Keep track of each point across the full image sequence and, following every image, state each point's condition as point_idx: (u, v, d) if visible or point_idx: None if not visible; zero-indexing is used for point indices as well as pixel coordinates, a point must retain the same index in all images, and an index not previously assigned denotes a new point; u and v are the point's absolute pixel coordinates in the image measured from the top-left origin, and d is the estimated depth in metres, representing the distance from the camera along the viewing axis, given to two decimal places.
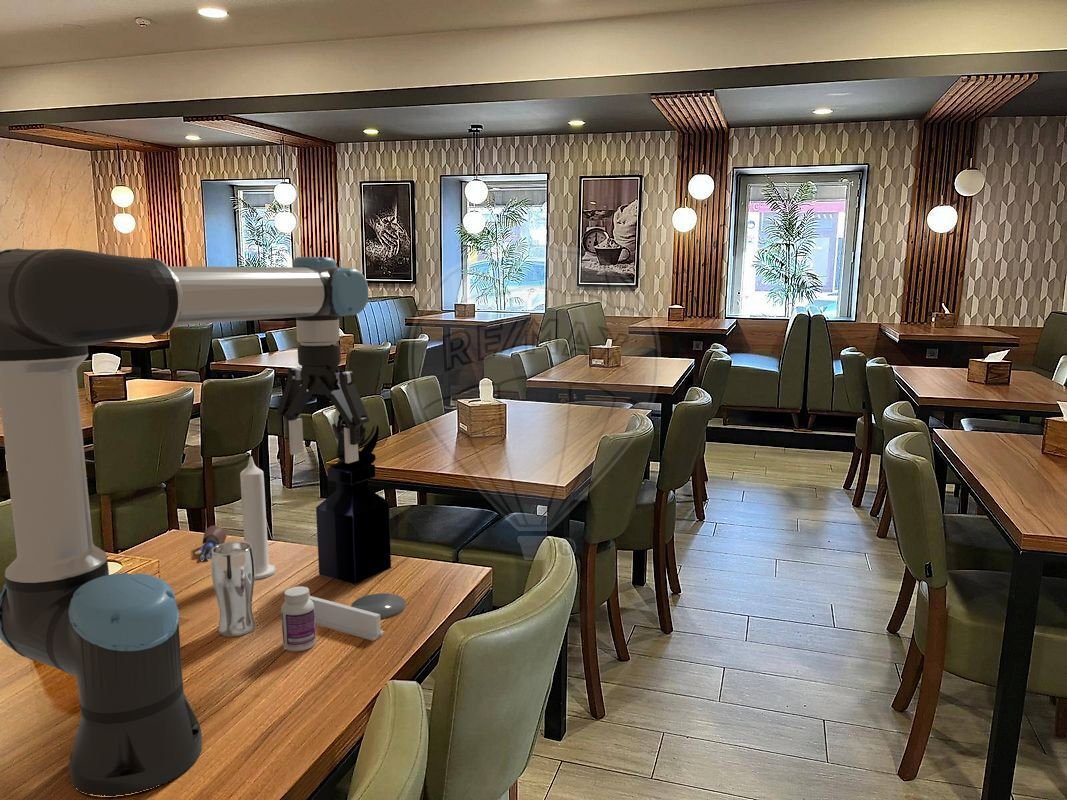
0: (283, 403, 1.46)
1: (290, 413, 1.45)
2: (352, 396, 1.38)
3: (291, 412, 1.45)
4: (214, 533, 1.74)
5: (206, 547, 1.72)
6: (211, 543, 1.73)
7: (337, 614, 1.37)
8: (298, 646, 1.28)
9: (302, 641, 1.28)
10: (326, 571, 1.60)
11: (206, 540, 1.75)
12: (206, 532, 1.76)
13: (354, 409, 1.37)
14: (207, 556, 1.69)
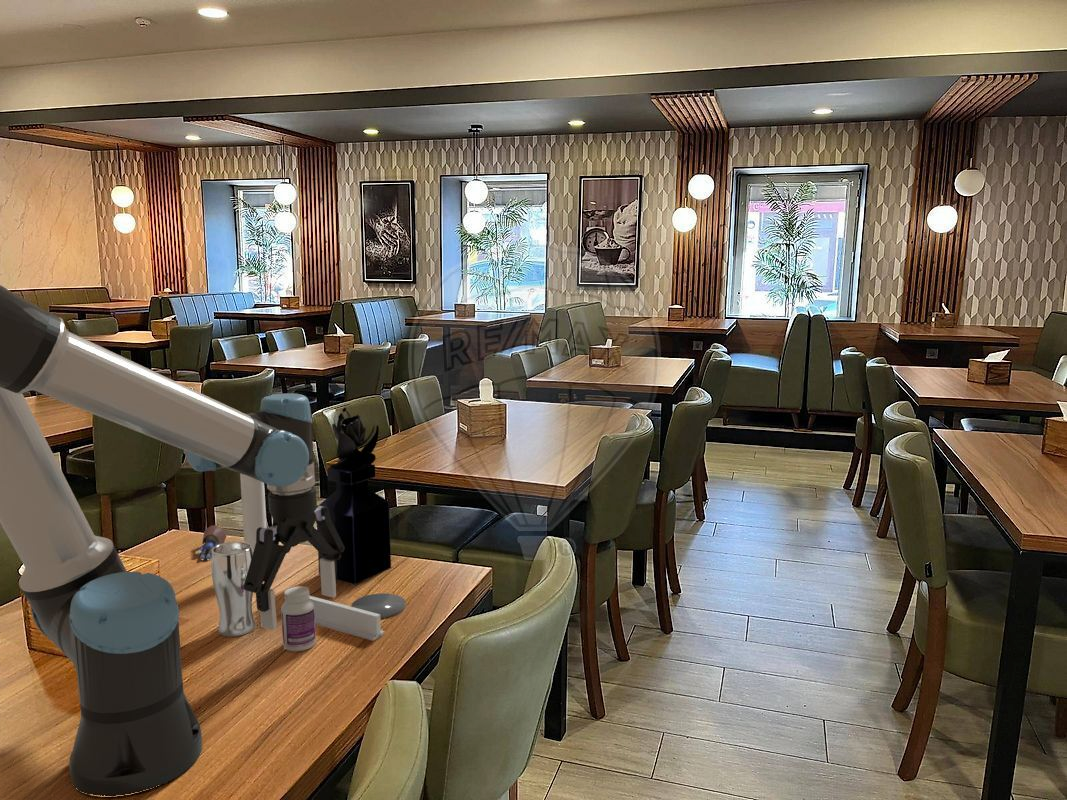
0: None
1: None
2: (255, 558, 1.21)
3: None
4: (214, 533, 1.74)
5: (206, 547, 1.72)
6: (211, 543, 1.73)
7: (337, 614, 1.37)
8: (298, 646, 1.28)
9: (302, 641, 1.28)
10: None
11: (206, 540, 1.76)
12: (206, 532, 1.76)
13: None
14: (207, 556, 1.69)
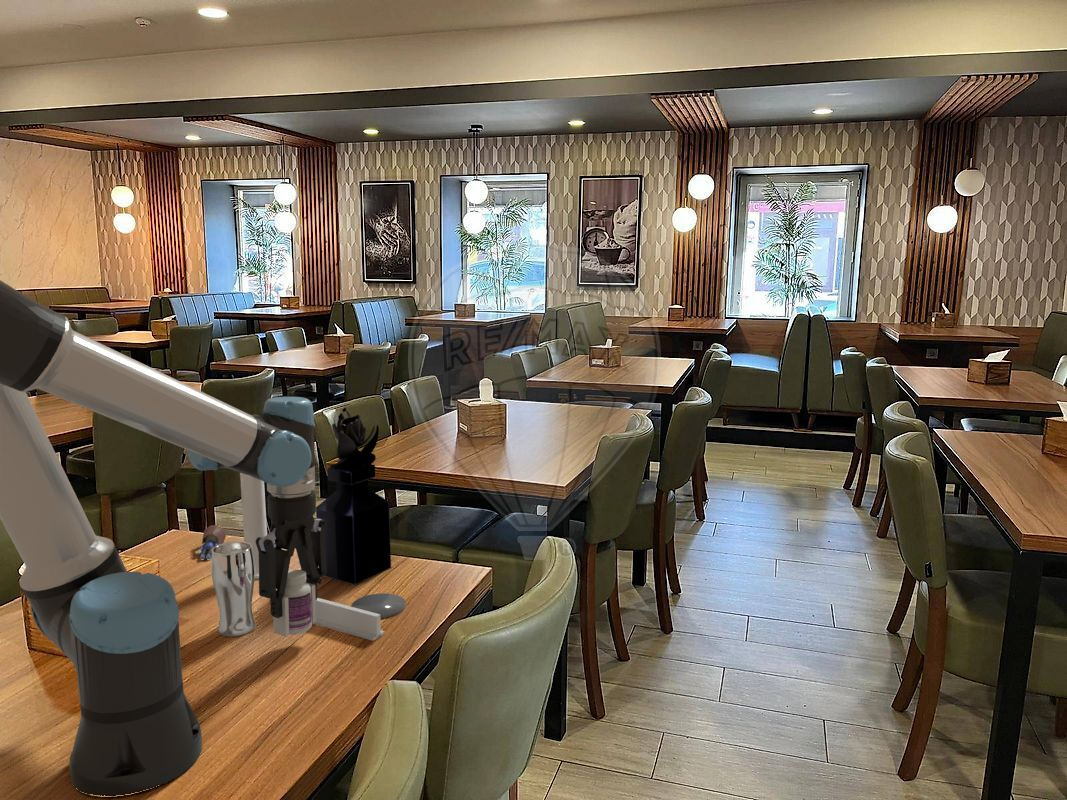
0: None
1: None
2: (261, 567, 1.23)
3: None
4: (214, 533, 1.75)
5: (206, 547, 1.72)
6: (211, 543, 1.73)
7: (337, 614, 1.37)
8: (294, 629, 1.27)
9: (297, 624, 1.27)
10: None
11: (206, 540, 1.76)
12: (206, 532, 1.76)
13: None
14: (207, 556, 1.69)
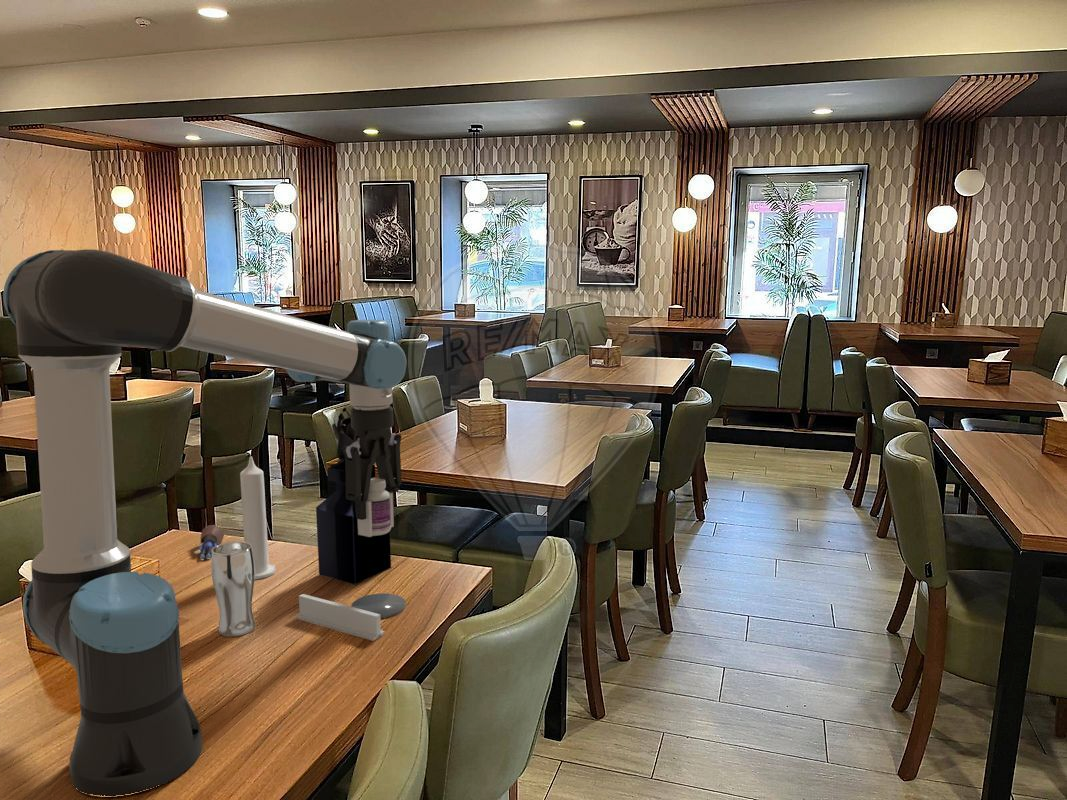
0: None
1: None
2: (348, 472, 1.36)
3: None
4: (212, 532, 1.75)
5: (205, 546, 1.72)
6: (210, 542, 1.73)
7: (337, 614, 1.37)
8: (377, 530, 1.40)
9: (379, 526, 1.41)
10: (326, 571, 1.60)
11: (204, 540, 1.76)
12: (204, 532, 1.76)
13: None
14: (207, 555, 1.69)
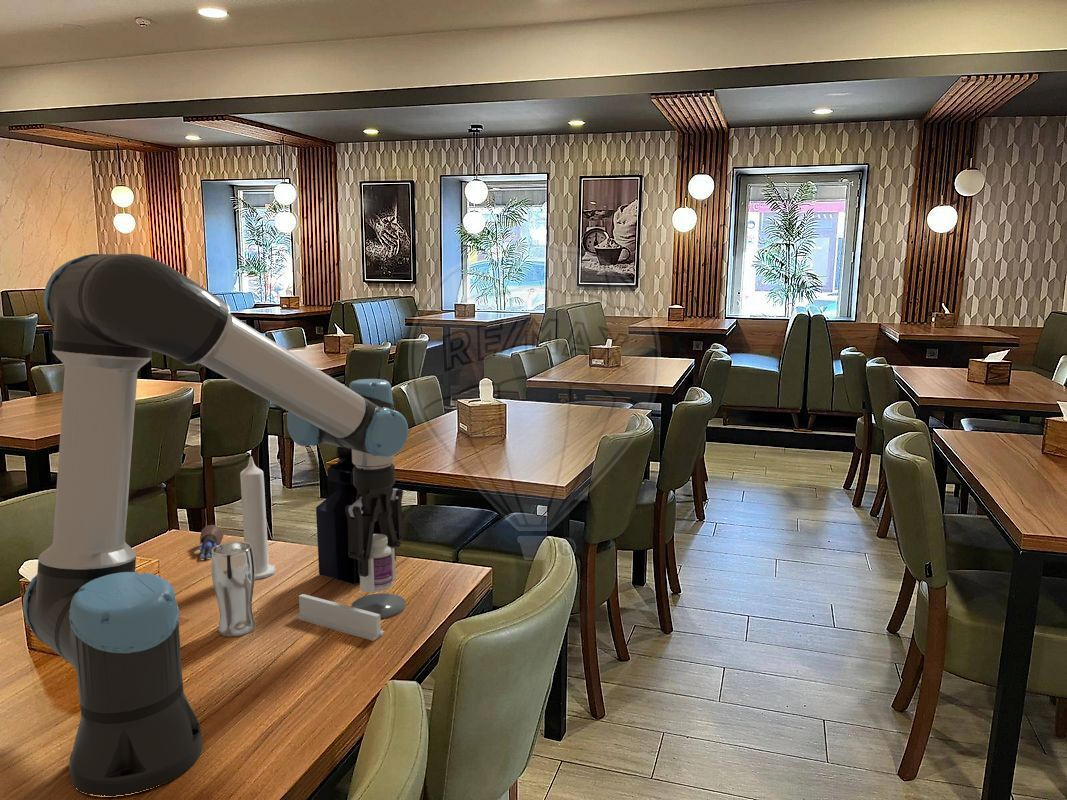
0: None
1: None
2: (350, 531, 1.38)
3: None
4: (212, 532, 1.75)
5: (205, 546, 1.72)
6: (210, 542, 1.73)
7: (337, 614, 1.37)
8: (379, 586, 1.42)
9: (382, 582, 1.42)
10: (326, 571, 1.60)
11: (203, 540, 1.76)
12: (203, 532, 1.76)
13: None
14: (207, 555, 1.69)
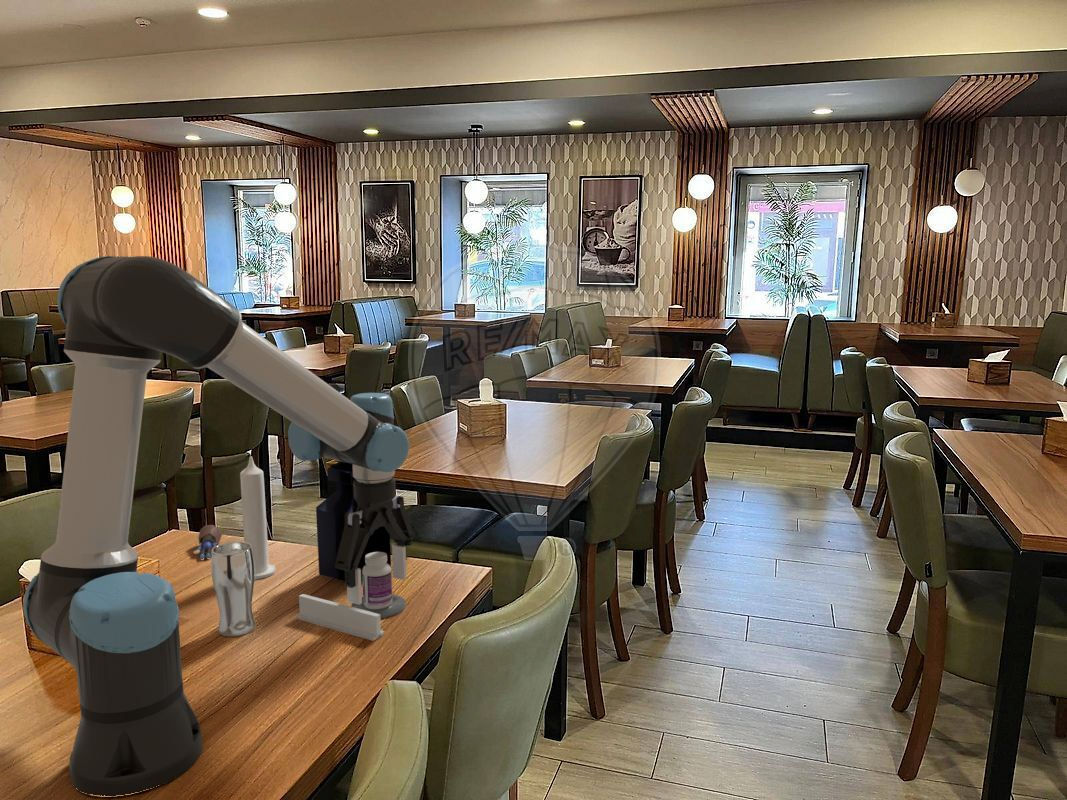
0: None
1: None
2: (344, 539, 1.36)
3: None
4: (211, 532, 1.75)
5: (204, 546, 1.72)
6: (209, 542, 1.74)
7: (337, 614, 1.37)
8: (378, 605, 1.43)
9: (381, 600, 1.43)
10: (326, 571, 1.60)
11: (202, 540, 1.76)
12: (202, 532, 1.76)
13: None
14: (207, 555, 1.69)
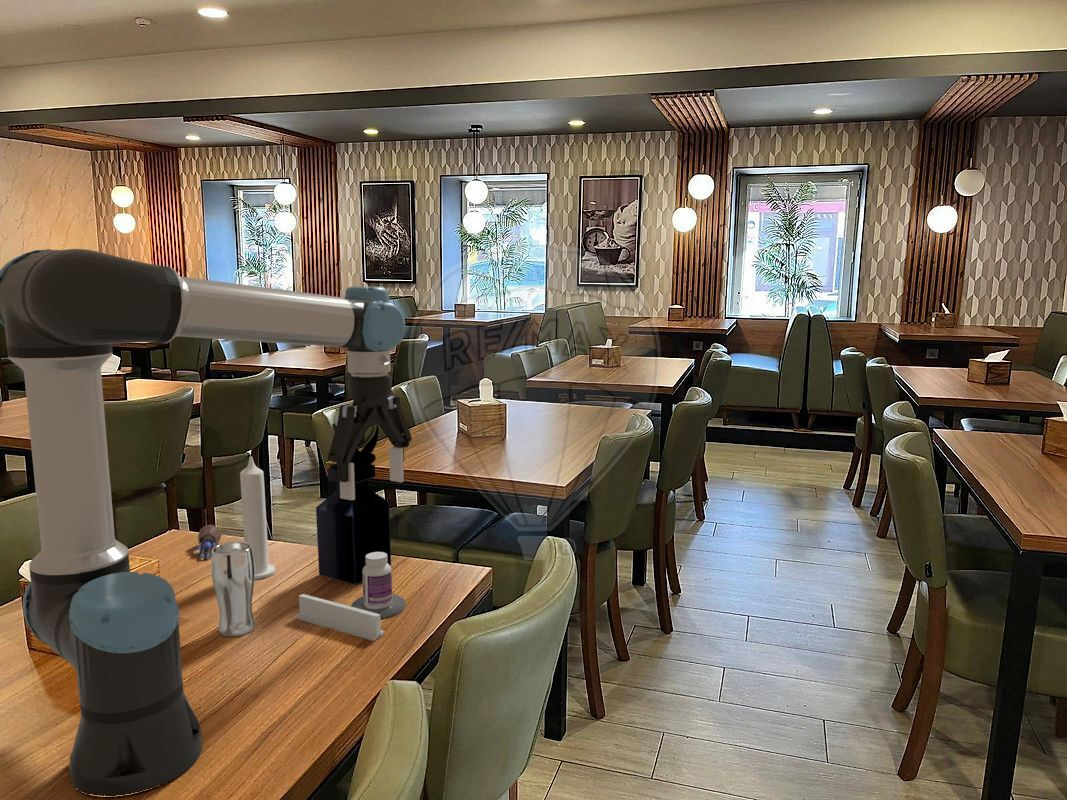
0: None
1: None
2: (338, 431, 1.33)
3: None
4: (211, 532, 1.75)
5: (204, 546, 1.72)
6: (209, 542, 1.74)
7: (337, 614, 1.37)
8: (378, 605, 1.43)
9: (381, 600, 1.43)
10: (326, 571, 1.60)
11: (202, 540, 1.76)
12: (202, 532, 1.76)
13: (332, 444, 1.33)
14: (207, 555, 1.69)
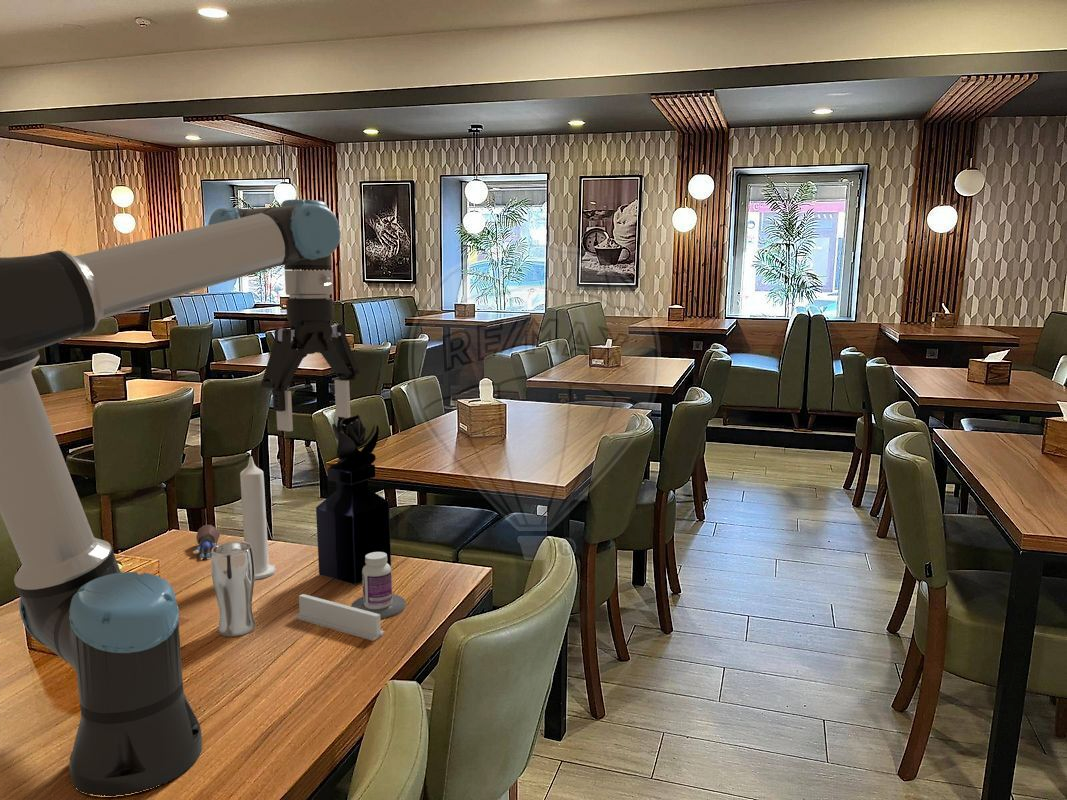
0: None
1: None
2: (272, 356, 1.23)
3: None
4: (210, 532, 1.75)
5: (203, 546, 1.72)
6: (208, 542, 1.74)
7: (337, 614, 1.37)
8: (378, 604, 1.43)
9: (381, 600, 1.43)
10: (326, 571, 1.60)
11: (200, 540, 1.76)
12: (200, 532, 1.76)
13: None
14: (207, 555, 1.70)
